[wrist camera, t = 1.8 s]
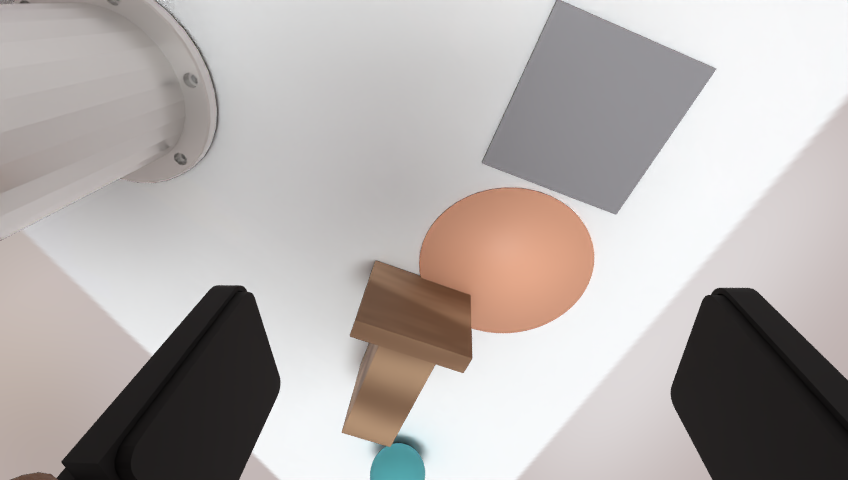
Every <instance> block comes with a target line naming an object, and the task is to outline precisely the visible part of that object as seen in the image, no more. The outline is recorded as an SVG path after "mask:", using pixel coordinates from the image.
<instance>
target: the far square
mask: <svg viewBox="0 0 848 480" xmlns="http://www.w3.org/2000/svg"><path fill="white" fill-rule="evenodd" d="M715 70H716V68H713V67H711V66H709V65H707V64H704V63H702V62H700V61H697V60H695V59H693V58H691V57H688V56H686V55H684V54H681V53H679V52H677V51H675V50H672V49H670V48H668V47H666V46H663V45H661V44H659V43H656V42H654V41H652V40H650V39H647V38H645V37H643V36H641V35H638V34H636V33H634V32H631V31H629V30H627V29H625V28H622V27H620V26H618V25H616V24H613V23H611V22H609V21H606V20H604V19H602V18H600V17H597V16H595V15H593V14H590V13H588V12H586V11H584V10H581V9H579V8H577V7H575V6H572V5H570V4H568V3H565V2H563V1H561V0H557V1H556V3H555V5H554V7H553V9H552V12H551V14H550V16H549V18H548V20H547V22H546V25H545V27H544V29H543V31H542V33H541V35H540V38H539V40H538V42H537V44H536V46H535V48H534V51H533V53H532V55H531V57H530V59H529V61H528V64H527V66H526V68H525V70H524V72H523V74H522V77H521V79H520V81H519V83H518V85H517V88H516V90H515V92H514V94H513V96H512V98H511V101H510V103H509V105H508V107H507V109H506V111H505V114H504V116H503V118H502V120H501V122H500V124H499V127H498V129H497V131H496V133H495V135H494V137H493V140H492V142H491V144H490V146H489V148H488V150H487V153H486V155H485V157H484V159H483V161H482V163H483V164H486V165H488V166H491V167H493V168H496V169H499V170H501V171H504V172H506V173H509V174H512V175H514V176H517V177H519V178H522V179H525V180H527V181H530V182H532V183H535V184H538V185H540V186H543V187H545V188H548V189H551V190H553V191H556V192H558V193H561V194H564V195H566V196H569V197H571V198H574V199H577V200H579V201H582V202H584V203H587V204H590V205H592V206H595V207H597V208H600V209H603V210H605V211H608V212H610V213H613V214H617V213H618V211H619V210H620V208H621V207H622V205H623V204H624V203H625V201H626V200H627V198H628V197H629V195H630V194H631V192H632V191H633V189H634V188H635V187H636V185H637V184H638V182H639V181H640V179H641V178H642V176H643V175H644V173H645V172H646V171H647V169H648V168H649V166H650V165H651V163H652V162H653V160H654V159H655V157H656V156H657V155H658V153H659V152H660V150H661V149H662V147H663V146H664V144H665V143H666V141H667V140H668V139H669V137H670V136H671V134H672V133H673V131H674V130H675V128H676V127H677V125H678V124H679V123H680V121H681V120H682V118H683V117H684V115H685V114H686V112H687V111H688V110H689V108H690V107H691V105H692V104H693V102H694V101H695V99H696V98H697V96H698V95H699V94H700V92H701V91H702V89H703V88H704V86H705V85H706V83H707V82H708V80H709V79H710V78H711V76H712V75H713V73H714V72H715Z"/></svg>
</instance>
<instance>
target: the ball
mask: <svg viewBox="0 0 848 480" xmlns="http://www.w3.org/2000/svg"><path fill="white" fill-rule="evenodd" d="M370 480H425V467H424V463H423V460H422V458H421V456H420V455H419V453H418V452H417V451H416V450H415V449H414V448H412V447H411V446H409V445H406V444H402V443H394V444H392V445H391V447H388V446H386V447H385V448H383V449H382V450H381V451H380V452H379V453H378V454H377V455H376V457H375V459H374V460H373V463H372V466H371V471H370Z"/></svg>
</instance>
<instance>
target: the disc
mask: <svg viewBox="0 0 848 480" xmlns="http://www.w3.org/2000/svg"><path fill="white" fill-rule="evenodd" d="M593 266H594V250H593V244H592V241H591V238H590V235H589V233H588V231H587V229H586V227H585V225H584V224H583V222H582V221H581V219H580V218H579V217H578V216H577V215H576V214H575V213H574V212H573V211H572V210H571V209H570V208H569V207H568V206H566V205H565V204H564V203H562V202H561V201H559V200H557V199H555V198H553V197H551V196H549V195H546V194H544V193H541V192H537V191H533V190H529V189H521V188H499V189H492V190H487V191H483V192H479V193H476V194H474V195H471V196H469V197H466V198H464V199H462V200H461V201H459V202H457V203H455V204H454V205H453V206H451V207H450V208H448V209H447V210H446V211H445V212H444V213H443V214H442V215H440V216H439V217H438V219H437V220H436V221H435V222H434V223H433V225H432V226H431V228H430V229H429V231H428V233H427V234H426V237H425V239H424V242H423V244H422V248H421V252H420V261H419V267H420V275H421V278H423V279H426V280H429V281H432V282H434V283H437V284H440V285H443V286H446V287H449V288H452V289H455V290H458V291H460V292H463V293H466V294H469V295H471V328H473V329H476V330H480V331H485V332H492V333H514V332H521V331H527V330H530V329H534V328H537V327H540V326H542V325H545V324H547V323H549V322H551V321H553V320H555V319H556V318H558V317H559V316H561V315H562V314H564V313H565V312H566V311H568V310H569V309H570V308H571V307H572V306H573V305H574V304H575V303H576V302H577V301H578V300H579V298H580V297H581V296H582V294H583V293H584V291H585V289H586V287H587V286H588V284H589V281H590V278H591V276H592V272H593Z"/></svg>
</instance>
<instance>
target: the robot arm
mask: <svg viewBox="0 0 848 480" xmlns="http://www.w3.org/2000/svg"><path fill="white" fill-rule="evenodd" d="M195 77H196V78H197V80H196V78H195ZM216 119H217V107H216V99H215V91H214V88H213V85H212V82H211V78H210V75H209V72H208V70H207V67H206V65H205V63H204V61H203V59H202V57H201V55H200V53H199V51H198V49H197V48H196V46H195V45H194V43H193V42H192V40H191V39H190V37H189V36H188V34H187V33H186V31H185V30H184V29H183V28H182V27H181V26H180V25H179V24H178V22H177V21H176V20H175V19H174V18H173V17H172V16H171V15H170V13H169V12H167V11H166V10H165V9H164V8H163V7H161V6H160V5H159V4H158V3H157V2H156V1H154V0H14V2H13V4H0V241H1V240H3V239H5V238H7V237H9V236H10V235H13V234H15V233H17V232H18V231H20V230H22V229H24V228H26V227H28V226H30V225H32V224H34V223H36V222H38V221H40V220H41V219H43V218H45V217H47V216H49V215H51V214H53V213H55V212H57V211H59V210H61V209H63V208H64V207H66V206H68V205H70V204H72V203H74V202H76V201H78V200H80V199H82V198H84V197H86V196H87V195H89V194H91V193H93V192H95V191H97V190H99V189H101V188H103V187H105V186H107V185H109V184H111V183H112V182H114V181H116V180H118V179H122V180H127V181H132V182H137V183H156V182H162V181H167V180H170V179H173V178H175V177H177V176H179V175H182V174H183V173H185V172H186V171H188V170H189V169H191V168H193V167H194V166H195V165H196V164H197V163H198V162H199V161H200V160H201V159H202V158H203V157H204V156H205V154H206V152H207V151H208V149H209V147H210V145H211V143H212V140H213V137H214V133H215V130H216ZM279 390H280V376H279V373H278V370H277V367H276V364H275V360H274V357H273V354H272V351H271V348H270V345H269V341H268V338H267V335H266V332H265V329H264V326H263V322H262V319H261V316H260V313H259V310H258V307H257V303H256V300H255V297H254V295H253V294H252V293H250V292H247V290H246V289H245V288H244V287H243V286H224V285H217V286H213V287H212V288H211V289H210V290H209V291H208V292H207V293H206V295H205V296H204V297H203V298H202V299H201V300H200V302H199V303H198V304H197V305H196V306H195V307H194V309H193V310H192V311H191V312H190V313H189V314H188V316H187V317H186V318H185V319H184V320H183V321H182V322H181V324H180V325H179V326H178V327H177V328H176V329H175V331H174V332H173V333H172V334H171V335H170V336H169V338H168V339H167V340H166V341H165V342H164V343H163V344H162V346H161V347H160V348H159V349H158V350H157V351H156V353H155V354H154V355H153V356H152V357H151V358H150V360H149V361H148V362H147V363H146V364H145V365H144V366H143V368H142V369H141V370H140V371H139V372H138V374H137V375H136V376H135V377H134V378H133V379H132V380H131V382H130V383H129V384H128V385H127V386H126V387H125V389H124V390H123V391H122V392H121V393H120V394H119V396H118V397H117V398H116V399H115V400H114V401H113V402H112V404H111V405H110V406H109V407H108V408H107V409H106V411H105V412H104V413H103V414H102V415H101V416H100V417H99V419H98V420H97V421H96V422H95V423H94V425H93V426H92V427H91V428H90V429H89V430H88V431H87V433H86V434H85V435H84V436H83V437H82V438H81V439H80V441H79V442H78V443H77V444H76V446H75V447H74V448H73V449H72V450H71V451H70V452H69V453H68V455H67V456H66V457H65V458H64V459H63V460H62V464H63V465H64V466H65V467H66V468H65V469H64V470H63V471H62V472H61V473H60V475H59V476H58V477H57V478H55V477H54V476H53V475H52V474H47V473H41V472H37V473H32V474H26V475H21V476H19V477H16V478H13V479H11V480H239V479H240V476H241V474H242V472H243V470H244V468H245V465H246V463H247V461H248V459H249V457H250V455H251V452H252V450H253V448H254V446H255V444H256V442H257V439H258V437H259V435H260V433H261V431H262V429H263V426H264V424H265V422H266V420H267V418H268V416H269V413H270V411H271V409H272V407H273V405H274V403H275V400H276V398H277V396H278V393H279ZM671 399H672V403H673V405H674V408H675V410H676V411H677V413H678V415H679V417H680V419H681V421H682V423H683V425H684V427H685V428H686V430H687V432H688V434H689V436H690V438H691V440H692V442H693V444H694V446H695V447H696V449H697V451H698V453H699V455H700V457H701V459H702V461H703V463H704V464H705V466H706V468H707V470H708V472H709V474H710V476H711V478H712V480H848V380H847V379H846V378H845V377H844V376H843V375H842V374H841V373H840V372H839V371H838V370H837V369H836V368H835V367H834V366H833V365H832V364H830V363H829V361H828V360H827V359H826V358H824V357H823V356H822V355H821V354H820V353H819V352H818V351H817V350H816V349H815V348H814V347H813V346H812V345H811V344H810V343H809V342H808V341H807V340H806V339H805V338H804V337H803V336H802V335H801V334H800V333H799V332H798V331H797V330H796V329H795V328H794V327H793V326H792V325H791V324H790V323H788V321H787V320H786V319H785V318H784V317H782V315H781V314H780V313H778V311H777V310H775V309H774V308H773V307H772V306H771V305H770V304H769V303H768V302H767V301H766V300H765V299H764V298H763V297H762V296H761V295H760V294H759V293H758V292H757V291H755V290H754V289H750V288H717V289H715V290H714V291H713V292H712V294H711V295H707V296H705V298H704V299H703V301H702V303H701V306H700V309H699V312H698V314H697V317H696V320H695V322H694V325H693V328H692V331H691V334H690V336H689V339H688V342H687V345H686V348H685V350H684V353H683V356H682V359H681V361H680V364H679V367H678V370H677V373H676V375H675V378H674V381H673V384H672V387H671Z"/></svg>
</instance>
